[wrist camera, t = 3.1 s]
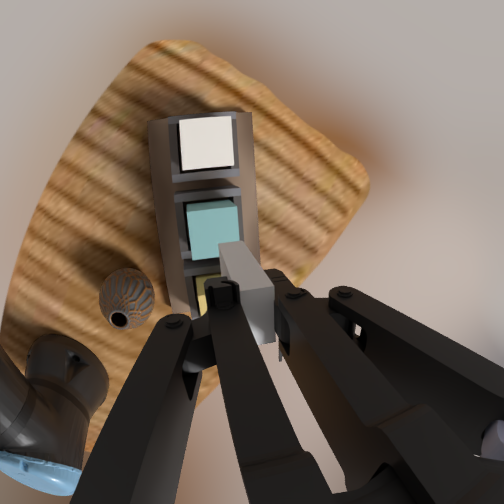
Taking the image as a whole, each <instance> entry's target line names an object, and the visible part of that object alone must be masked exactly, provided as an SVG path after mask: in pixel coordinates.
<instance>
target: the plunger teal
mask: <svg viewBox="0 0 504 504" xmlns="http://www.w3.org/2000/svg"><path fill="white" fill-rule="evenodd" d="M187 219H188V228H189V236H190V244H191V252H192V259H193V260H199V259H207V258H214V257H219V248H218V243H226V242H235V241H240V240H239V226H238V213H237V206H236V205H235V204H234V203H232V202H231V201H230V200H219V201H210V202H201V203H193V204H187Z"/></svg>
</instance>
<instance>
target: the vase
mask: <svg viewBox="0 0 504 504" xmlns="http://www.w3.org/2000/svg"><path fill="white" fill-rule="evenodd" d="M154 301H155V294H154V289H153V286H152V284H151V282H150V280H149V279H148V278H147V276H146V275H144V274H143V273H142V272H140V271H138V270H136V269H133V268H122V269H118V270H116V271H114V272H112V273H111V274H110V275H109V276H108V277H107V278H106V279H105V281H104V282H103V284H102V286H101V289H100V293H99V304H100V309H101V312H102V314H103V315H104V317H105V318H106V320H107V321H108V322H109V323H110V324H111V325H112V326H113V327H114V328H116V329H132V328H136V327H138V326H140V325H142V324H143V323H144V322H145V321H146V320H147V319H148V318H149V316H150V315H151V313H152V310H153V307H154Z"/></svg>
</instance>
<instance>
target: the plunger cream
mask: <svg viewBox="0 0 504 504" xmlns="http://www.w3.org/2000/svg"><path fill="white" fill-rule="evenodd" d="M179 124H180V141H181V155H182V168H183V170H191V169H200V168H210V167H221V166H234V154H233V139H232V122H231V116H222V117H207V118H195V119H185V120H179Z"/></svg>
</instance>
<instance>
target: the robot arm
mask: <svg viewBox="0 0 504 504" xmlns="http://www.w3.org/2000/svg"><path fill="white" fill-rule="evenodd" d="M218 248H219V258H220V267H221V277H215V278H208V279H206V281H205V282H204V290H205V297H206V304H207V311H206V313H205V314H203V315H202V316H201V317H199V318H196V319H194V320H191V319H190V317H189V316H187V315H185V314H170V315H166V316H165V317H163V318H161V319H160V320H159V321H158V322H157V324H156V325H155V327H154V329H153V331H152V333H151V334H150V336H149V338H148V340H147V342H146V344H145V345H144V347H143V349H142V351H141V353H140V355H139V357H138V358H137V360H136V362H135V364H134V366H133V368H132V370H131V372H130V374H129V376H128V378H127V379H126V381H125V383H124V385H123V387H122V389H121V391H120V393H119V395H118V397H117V399H116V401H115V403H114V405H113V407H112V409H111V411H110V413H109V415H108V417H107V420H106V422H105V424H104V426H103V428H102V430H101V432H100V434H99V436H98V439H97V441H96V443H95V445H94V447H93V449H92V452H91V454H90V456H89V458H88V461H87V463H86V465H85V467H84V470H83V472H82V471H81V468H82V462H83V455H84V449H85V443H86V437H87V432H88V427H89V423H90V419H91V417H92V416H93V415H94V413H95V412H96V410H97V409H98V407H99V406H101V405H102V403H103V402H104V401H105V399H106V396H107V392H108V388H109V378H108V374H107V372H106V370H105V368H104V366H103V364H102V363H101V362H100V360H99V359H98V358H97V357H96V356H95V355H94V354H93V353H92V352H91V351H90V350H89V349H87V348H86V347H85V346H83V345H82V344H80V343H78V342H77V341H75V340H73V339H70V338H68V337H65V336H61V335H54V334H49V335H44V336H41V337H39V338H38V339H37V340H36V341H35V342H34V343H33V345H32V347H31V348H30V350H29V352H28V355H27V366H26V370H25V377H24V375H23V374H22V373H21V372H20V370H19V369H18V368H17V367H16V365H15V364H14V363H13V361H12V360H11V359H10V357H9V356H8V355H7V353H6V352H5V351H4V349H3V348H2V346H1V345H0V470H1V471H2V472H4V473H5V474H7V475H8V476H10V477H11V478H13V479H15V480H17V481H19V482H20V483H22V484H25V485H27V486H29V487H31V488H34V489H37V490H39V491H42V492H45V493H49V494H53V495H59V496H68V495H72V494H73V493H74V494H73V496H72V499H71V501H70V504H174V503H175V498H176V493H177V488H178V483H179V478H180V473H181V469H182V464H183V459H184V454H185V450H186V445H187V441H188V435H189V431H190V427H191V422H192V418H193V413H194V409H195V405H196V400H197V396H198V392H199V387H200V383H201V379H202V370H204V369H207V368H209V367H212V366H214V365H217V369H218V374H219V379H220V384H221V388H222V394H223V399H224V403H225V408H226V413H227V417H228V421H229V426H230V430H231V434H232V439H233V443H234V447H235V451H236V455H237V459H238V463H239V467H240V471H241V475H242V479H243V482H244V486H245V489H246V493H247V497H248V500H249V504H504V368H502V367H501V366H499V365H497V364H495V363H493V362H492V361H490V360H488V359H486V358H484V357H483V356H481V355H479V354H477V353H475V352H473V351H471V350H470V349H468V348H466V347H464V346H462V345H460V344H459V343H457V342H455V341H453V340H451V339H449V338H448V337H446V336H444V335H442V334H440V333H438V332H437V331H434V330H433V329H431V328H429V327H427V326H425V325H423V324H422V323H420V322H418V321H416V320H414V319H412V318H410V317H408V316H406V315H404V314H403V313H400V312H399V311H397V310H395V309H393V308H391V307H389V306H387V305H385V304H384V303H382V302H380V301H378V300H376V299H374V298H372V297H370V296H368V295H366V294H364V293H363V292H361V291H359V290H357V289H355V288H352V287H347V286H339V287H334V288H332V289H331V290H330V291H329V298H314V297H313V296H312V295H311V294H310V293H309V292H308V291H307V290H305V289H302V288H296V287H295V286H294V285H293V284H292V283H291V282H290V280H288V278H287V277H286V276H285V275H284V273H283V272H282V271H280V270H277V269H268V270H263V269H262V267H261V266H260V265H259V263H258V262H257V260H256V259H255V257H254V256H253V255H252V253H251V252H250V250H249V249H248V247H247V246H246V244H245V243H244V242H243V241H235V242H226V243H218ZM356 324H357V325H359V326H360V327H361V333H360V336H358V335H356V334H355V327H356ZM275 332H276V333H277V335H278V337H279V361H282V356H283V357H284V359H285V361H286V363H287V365H288V367H289V369H290V371H291V373H292V375H293V376H294V378H295V380H296V382H297V384H298V386H299V388H300V390H301V392H302V394H303V396H304V398H305V400H306V402H307V404H308V406H309V408H310V409H311V411H312V413H313V415H314V417H315V419H316V421H317V423H318V425H319V427H320V429H321V430H322V432H323V434H324V436H325V438H326V440H327V442H328V443H329V445H330V447H331V449H332V451H333V453H334V455H335V456H336V459H337V461H338V462H339V464H340V466H341V468H342V470H343V472H344V475H345V485H346V488H347V492H341V493H335V494H332V492H331V490H330V488H329V486H328V484H327V482H326V480H325V478H324V476H323V474H322V472H321V470H320V468H319V466H318V464H317V462H316V460H315V459H314V457H313V456H312V454H311V453H310V452H307V451H304V450H303V449H302V447H301V445H300V443H299V441H298V438H297V436H296V434H295V432H294V430H293V427H292V425H291V423H290V420H289V418H288V416H287V414H286V411H285V409H284V407H283V404H282V402H281V400H280V398H279V395H278V393H277V390H276V388H275V386H274V384H273V381H272V379H271V376H270V374H269V372H268V369H267V367H266V364H265V362H264V360H263V357H262V355H261V353H260V350H259V348H258V345H262V344H267V343H272V342H276V338H275ZM474 454H475V455H478V456H480V457H477V456H474ZM80 475H81V477H80ZM79 477H80V479H79Z"/></svg>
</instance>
